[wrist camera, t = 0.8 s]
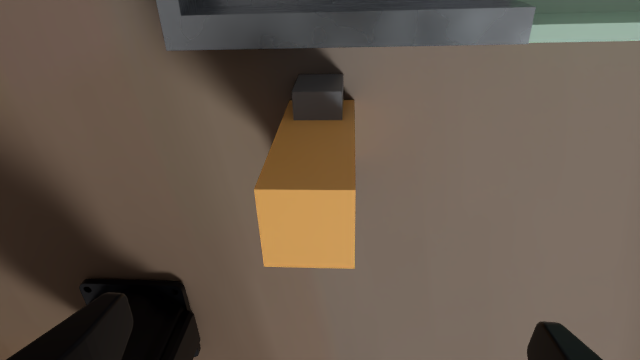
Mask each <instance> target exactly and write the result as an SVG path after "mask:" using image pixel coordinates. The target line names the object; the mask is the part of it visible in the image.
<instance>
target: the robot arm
mask: <svg viewBox="0 0 640 360" xmlns="http://www.w3.org/2000/svg"><path fill="white" fill-rule="evenodd" d="M79 288H80V291H81V293H82V296H83V298H84V300H85V303H86V306H85V307H83V308H82V309H80V310H79V311H77V312H76V313H74V314H73V315H71V316H70V317H68V318H67V319H65V320H64V321H63V322H61V323H60V324H58V325H57V326H55V327H54V328H52V329H51V330H49V331H48V332H46V333H45V334H43V335H42V336H40V337H39V338H37V339H36V340H35V341H33V342H32V343H30V344H29V345H27V346H26V347H24V348H23V349H21V350H20V351H18V352H17V353H15V354H14V355H12V356H11V357H9V358H8V359H7V360H193V358H194V357H196V356H198V354H199V352H200V344H199V342H200V336H199V332H198V328H197V324H196V320H195V317H194V314H193V312H192V311H191V309H190V306H189V302H188V298H187V294H186V290H185V287H184V285H183V284H182V283H180V282H177V281H148V280H108V279H86V280H84V281H83V282H82V284H81V285H80V287H79ZM175 289H176V290H175ZM527 357H528V360H602V359H601V358H600V357H599V356H598V355H597V354H596V353H594V352H593V351H592V350H591V349H590V348H589V347H587V346H586V345H585V344H584V343H583V342H582V341H580V340H579V339H578V338H577V337H576V336H575V335H573V334H572V333H571V332H570V331H569V330H568V329H567V328H565V327H564V326H563V325H561V324H560V323H556V322H539V323H538V324H537V325H536V327H535V330H534V332H533V335H532V337H531V340H530V342H529V344H528V348H527Z"/></svg>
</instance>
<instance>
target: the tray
mask: <svg viewBox="0 0 640 360" xmlns="http://www.w3.org/2000/svg"><path fill="white" fill-rule="evenodd" d="M518 1H521V2H523V3H526V4H529V5H532V6H535V7H536V9H535V14H534V19H533V23H532V28H531V33H530V38H529V43H541V42H596V41H640V0H518Z"/></svg>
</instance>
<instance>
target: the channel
mask: <svg viewBox="0 0 640 360" xmlns="http://www.w3.org/2000/svg"><path fill="white" fill-rule="evenodd" d="M156 3H157V8H158V12H159V17H160V22H161V27H162V31H163V36H164V41H165V46H166V50H167V51H171V50H226V49H281V48H336V47H390V46H445V45H500V44H528V43H529V38H530V33H531V28H532V23H533V19H534V14H535V9H536V7H535V6H532V5H529V4H526V3H523V2H521V1H518V0H156Z"/></svg>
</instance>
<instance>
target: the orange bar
mask: <svg viewBox="0 0 640 360" xmlns="http://www.w3.org/2000/svg"><path fill="white" fill-rule="evenodd" d="M254 193H255V200H256V208H257V216H258V223H259V231H260V239H261V247H262V254H263V262H264V267H303V268H350V269H355V110H354V100H343V74H299V75H298V77H297V80H296V82H295V85H294V87H293V90H292V100H289V103H288V105H287V108H286V110H285V113H284V115H283V118H282V120H281V123H280V125H279V128H278V131H277V133H276V136H275V138H274V141H273V143H272V146H271V148H270V151H269V153H268V156H267V158H266V161H265V163H264V166H263V168H262V171H261V173H260V176H259V178H258V181H257V183H256V186H255V188H254Z"/></svg>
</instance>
